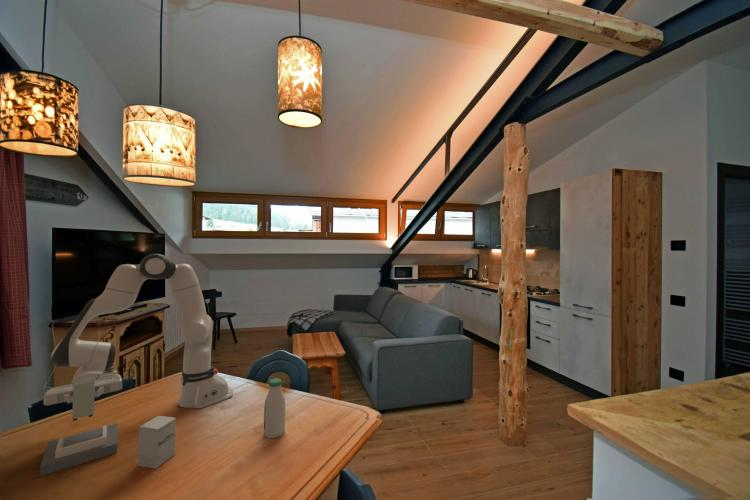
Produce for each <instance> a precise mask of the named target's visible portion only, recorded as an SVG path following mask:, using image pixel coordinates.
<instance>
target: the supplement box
mask: <svg viewBox="0 0 750 500" xmlns="http://www.w3.org/2000/svg"><path fill="white" fill-rule="evenodd" d="M176 419H177V418H176V417H174V416H173V417H171V416H165V415H157V416H155V417H154V418H152V419H150V420H148V421H146V422H145V423H144V424H142V425H140V426H138V441H137V442H138V443H137V444H138V445H137V466H138V467H143V468H148V469H154V470H157V469H158V468H159V467H160V466H162V465H163V464H164V463H165V462H167V461H168V460H170V459H171V458H172V457H173V456H175V453H176V424H177V423H176V421H177V420H176Z"/></svg>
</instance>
